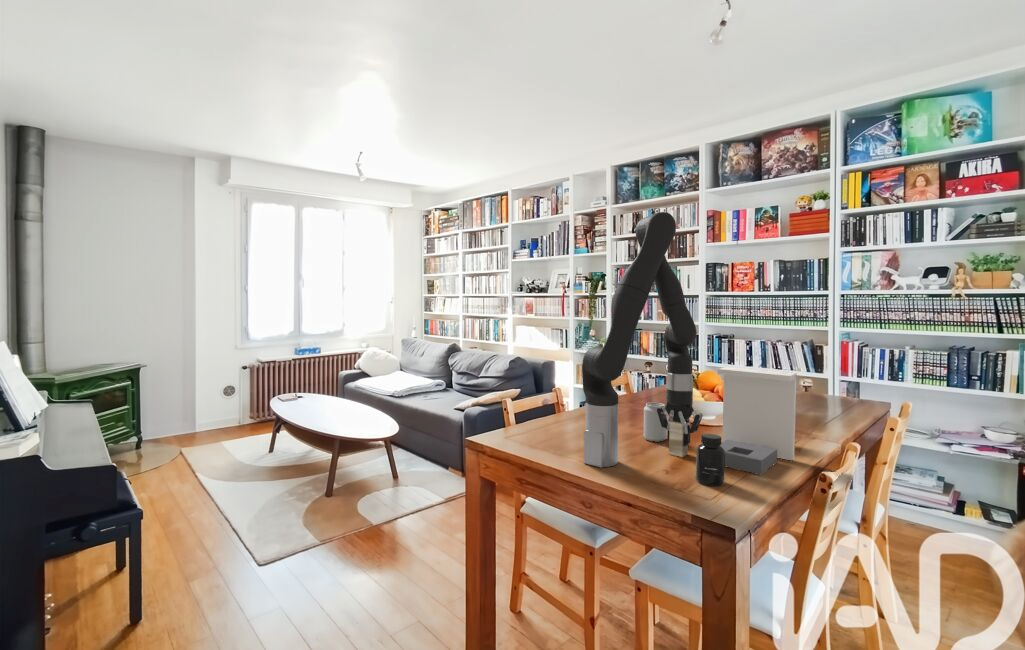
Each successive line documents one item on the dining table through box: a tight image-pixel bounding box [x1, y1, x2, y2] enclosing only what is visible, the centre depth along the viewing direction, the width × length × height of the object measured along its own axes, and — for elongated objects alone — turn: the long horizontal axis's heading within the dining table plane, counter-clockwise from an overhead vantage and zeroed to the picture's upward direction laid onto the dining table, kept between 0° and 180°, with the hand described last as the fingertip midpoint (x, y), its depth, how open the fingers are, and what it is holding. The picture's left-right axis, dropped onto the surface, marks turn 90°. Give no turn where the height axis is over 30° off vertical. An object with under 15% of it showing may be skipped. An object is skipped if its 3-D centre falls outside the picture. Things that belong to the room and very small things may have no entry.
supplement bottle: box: [695, 433, 726, 487], centre depth 128 cm, size 7×7×12 cm
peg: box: [668, 421, 689, 458], centre depth 151 cm, size 4×4×10 cm
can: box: [643, 402, 668, 443], centre depth 167 cm, size 8×8×12 cm
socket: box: [720, 439, 778, 475], centre depth 143 cm, size 14×14×4 cm
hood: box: [717, 366, 798, 461], centre depth 149 cm, size 6×20×26 cm, turn 47°
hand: (678, 443), depth 151 cm, fingers closed on peg, 4 cm apart
